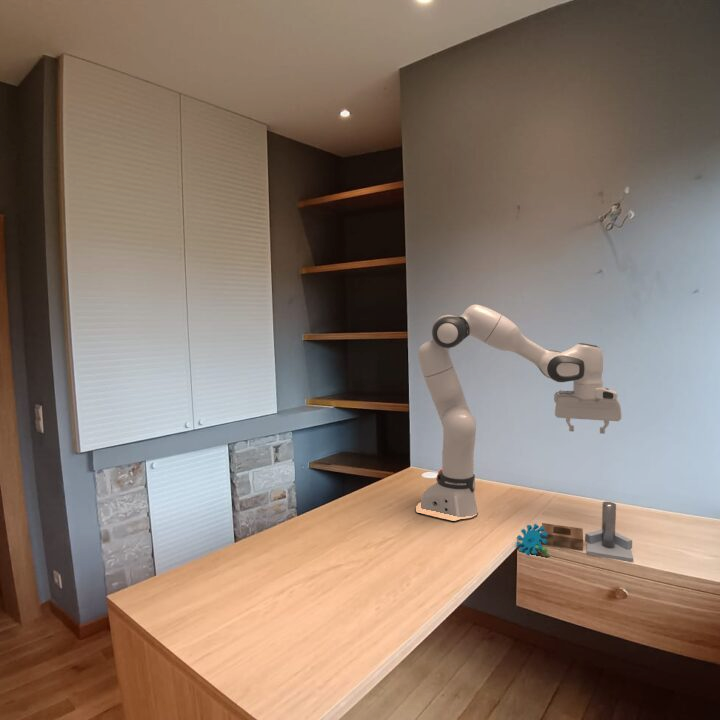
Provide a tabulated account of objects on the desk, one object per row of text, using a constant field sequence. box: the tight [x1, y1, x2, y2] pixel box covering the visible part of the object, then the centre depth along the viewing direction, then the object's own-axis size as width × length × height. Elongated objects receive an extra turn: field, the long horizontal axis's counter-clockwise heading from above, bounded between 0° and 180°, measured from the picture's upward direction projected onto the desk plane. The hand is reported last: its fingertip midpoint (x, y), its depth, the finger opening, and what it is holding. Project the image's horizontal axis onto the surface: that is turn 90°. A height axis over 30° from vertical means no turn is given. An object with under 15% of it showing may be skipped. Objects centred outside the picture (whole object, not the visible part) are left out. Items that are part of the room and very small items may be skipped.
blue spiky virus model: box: [516, 523, 551, 558], centre depth 145 cm, size 11×6×10 cm
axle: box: [601, 501, 617, 548], centre depth 145 cm, size 4×4×13 cm
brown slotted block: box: [540, 522, 584, 552], centre depth 150 cm, size 12×8×4 cm, turn 66°
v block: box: [584, 528, 634, 563], centre depth 145 cm, size 13×12×4 cm
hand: (586, 432), depth 162 cm, fingers open, 8 cm apart
